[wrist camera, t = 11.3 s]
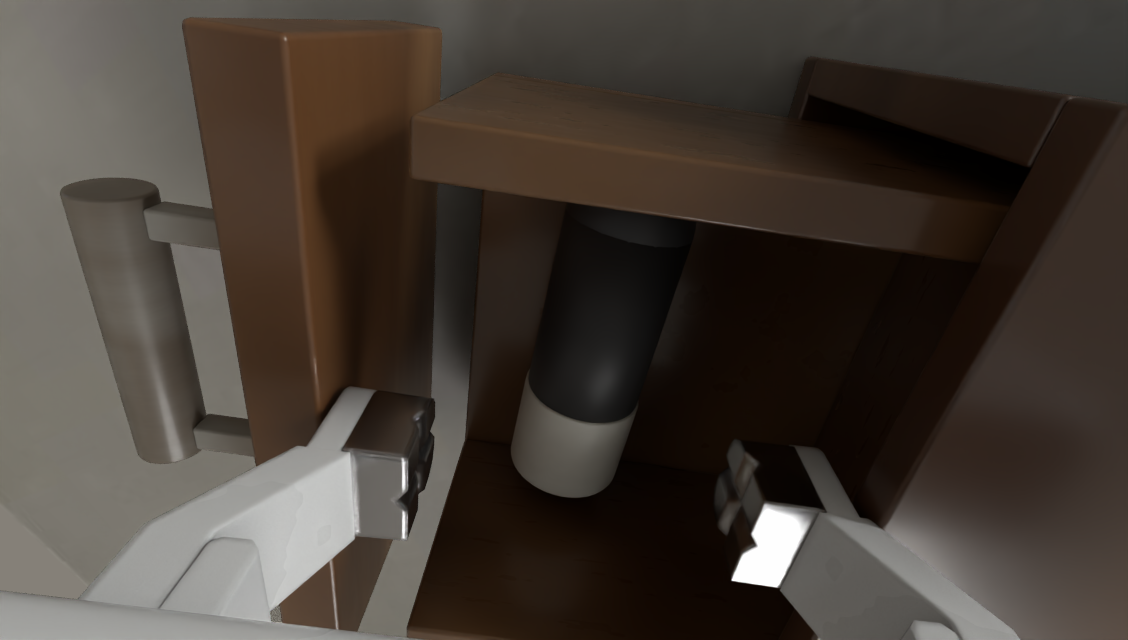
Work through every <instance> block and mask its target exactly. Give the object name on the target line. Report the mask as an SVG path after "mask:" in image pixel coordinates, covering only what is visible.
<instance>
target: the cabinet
mask: <svg viewBox="0 0 1128 640" xmlns="http://www.w3.org/2000/svg"><path fill="white" fill-rule="evenodd" d="M788 118H795V119H801V120H808V121H814V122H820V123H827V124H833V125H840V126H846V127H853V128H859V129H865V130H872V131H878V132H885V133H891V134H898V135H904V136H910V137H917V138H923V139H930V140H936V141H943V142H949V143H954V144H957V145H960V146H963V147H966V148H969V149H972V150H975V151H978V152H981V153H984V154H987V155H990V156H993V157H996V158H999V159H1002V160H1005V161H1008V162H1011V163H1014V164H1017V165H1020V166H1023V167H1026V168H1031V169H1030V171H1029V173H1028V175H1027V177H1026V179H1025V181H1024V182H1023V184H1022V186H1021V188H1020V190H1019V192H1018V194H1017V196H1016V197H1015V199H1014V201H1013V203H1012V205H1011V207H1010V209H1009V210H1008V212H1007V214H1006V216H1005V218H1004V220H1003V222H1002V223H1001V225H1000V227H999V229H998V231H997V233H996V235H995V236H994V238H993V240H992V242H991V244H990V246H989V248H988V250H987V251H986V253H985V255H984V257H983V259H982V261H981V263H980V264H979V266H978V268H977V270H976V272H975V274H974V276H973V277H972V279H971V281H970V283H969V285H968V287H967V289H966V291H965V292H964V294H963V296H962V298H961V300H960V302H959V304H958V305H957V307H956V309H955V311H954V313H953V315H952V317H951V318H950V320H949V322H948V324H947V326H946V328H945V330H944V331H943V333H942V335H941V337H940V339H939V341H938V343H937V345H936V346H935V348H934V350H933V352H932V354H931V356H930V358H929V359H928V361H927V363H926V365H925V367H924V369H923V371H922V372H921V374H920V376H919V378H918V380H917V382H916V384H915V385H914V387H913V389H912V391H911V393H910V395H909V397H908V399H907V400H906V402H905V404H904V406H903V408H902V410H901V412H900V413H899V415H898V417H897V419H896V421H895V423H894V425H893V426H892V428H891V430H890V432H889V434H888V436H887V438H886V439H885V441H884V443H883V445H882V447H881V449H880V451H879V453H878V454H877V456H876V458H875V460H874V462H873V464H872V466H871V467H870V469H869V471H868V473H867V475H866V477H865V479H864V480H863V482H862V484H861V486H860V488H859V490H858V492H857V494H856V495H855V497H854V499H853V501H852V504H853V506H854V508H855V510H856V511H857V513H858V515H859V517H860V518H867V519H870V520H871V521H872V522H874V523H875V524H876V525H877V526H879V527H880V528H881V529H883V530H884V531H885V532H887V533H888V534H889V535H890V536H892V537H893V538H894V539H896V540H897V541H898V542H900V543H901V544H902V545H903V546H905V547H906V548H907V549H909V550H910V551H911V552H913V553H914V554H915V555H916V556H918V557H919V558H920V559H922V560H923V561H924V562H926V563H927V564H928V565H929V566H931V567H932V568H933V569H935V570H936V571H937V572H939V573H940V574H941V575H942V576H944V577H945V578H946V579H948V580H949V581H950V582H952V583H953V584H954V585H955V586H957V587H958V588H959V589H961V590H962V591H963V592H965V593H966V594H967V595H968V596H970V597H971V598H972V599H974V600H975V601H976V602H978V603H979V604H980V605H981V606H983V607H984V608H985V609H987V610H988V611H989V612H991V613H992V614H993V615H994V616H996V617H997V618H998V619H1000V620H1001V621H1002V622H1004V623H1005V624H1006V625H1007V626H1009V627H1010V628H1011V629H1013V630H1014V631H1015V633H1016V634H1017V636H1018V637H1019V639H1020V640H1128V104H1127V103H1121V102H1114V101H1107V100H1100V99H1094V98H1087V97H1080V96H1073V95H1067V94H1060V93H1054V92H1047V91H1040V90H1034V89H1027V88H1020V87H1013V86H1007V85H1000V84H993V83H987V82H980V81H973V80H967V79H960V78H953V77H946V76H940V75H933V74H926V73H920V72H913V71H906V70H900V69H893V68H886V67H879V66H873V65H866V64H859V63H853V62H846V61H839V60H833V59H826V58H819V57H812V56H810V57H808V58H807V59H806V61H805V64H804V67H803V70H802V74H801V77H800V80H799V83H798V86H797V90H796V93H795V96H794V99H793V102H792V105H791V109H790V112H789V115H788ZM778 640H820V638H819V637H818V636H817V635H816V633H815V632H814V631H813V630H812V629H811V627H810V626H809V625H808V624H807V623H806V621H805V620H804V619H803V618H802V617H801V615H800V614H799V613H798V612H797V610H796V609H794V611H793V613H792V615H791V616H790V618H789V620H788V622H787V624H786V626H785V628H784V629H783V631H782V633H781V635H780V637H779V639H778Z"/></svg>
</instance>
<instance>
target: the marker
mask: <svg viewBox="0 0 1128 640" xmlns="http://www.w3.org/2000/svg"><path fill="white" fill-rule="evenodd" d="M695 229H696V222H694V221H688V220H681V219H674V218H668V217H661V216H654V215H648V214H641V213H634V212H628V211H621V210H614V209H608V208H601V207H594V206H588V205H581V204H575V203H568V202H567V205H566V209H565V214H564V218H563V223H562V227H561V232H560V236H559V241H558V245H557V250H556V254H555V259H554V263H553V268H552V272H551V277H550V281H549V286H548V290H547V295H546V299H545V304H544V308H543V313H542V317H541V322H540V326H539V331H538V335H537V340H536V344H535V349H534V353H533V358H532V362H531V367H530V369H529V371H528V373H527V376H526V380H525V385H524V389H523V394H522V398H521V403H520V407H519V412H518V416H517V421H516V425H515V430H514V435H513V439H512V444H511V457H512V460H513V463H514V465H515V467H516V469H517V470H518V472H519V473H520V474H521V475H522V476H523V477H524V478H525V479H526V480H527V481H528V482H529V483H531V484H532V485H534V486H535V487H537V488H539V489H541V490H543V491H545V492H547V493H550V494H553V495H557V496H562V497H570V498H579V497H587V496H591V495H594V494H596V493H598V492H600V491H602V490H603V489H605V488H606V487H607V486H608V485H609V484H610V483H611V481H612V480H613V478H614V475H615V472H616V470H617V467H618V464H619V461H620V458H621V455H622V452H623V449H624V446H625V443H626V441H627V438H628V435H629V432H630V429H631V426H632V423H633V420H634V417H635V414H636V411H637V409H638V399H639V396H640V393H641V391H642V388H643V385H644V382H645V379H646V376H647V373H648V370H649V367H650V364H651V361H652V358H653V355H654V353H655V350H656V347H657V344H658V341H659V338H660V335H661V332H662V329H663V326H664V323H665V320H666V318H667V315H668V312H669V309H670V306H671V303H672V300H673V297H674V294H675V291H676V288H677V285H678V282H679V280H680V277H681V274H682V271H683V268H684V265H685V262H686V259H687V256H688V253H689V250H690V247H691V244H692V242H693V238H694V234H695Z"/></svg>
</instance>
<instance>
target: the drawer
mask: <svg viewBox="0 0 1128 640" xmlns="http://www.w3.org/2000/svg"><path fill="white" fill-rule="evenodd" d="M182 29H183V35H184V40H185V46H186V52H187V58H188V64H189V70H190V76H191V82H192V88H193V94H194V100H195V106H196V112H197V118H198V124H199V130H200V136H201V142H202V148H203V154H204V160H205V165H206V171H207V177H208V183H209V189H210V195H211V201H212V207H213V209H211V208H204V207H198V206H191V205H184V204H177V203H171V202H162V203H161V198H160V194H159V189H158V188H157V186H156V185H155V184H153V183H151V182H147V181H143V180H138V179H131V178H98V179H89V180H83V181H79V182H75V183H72V184H69V185H66V186H64V187H63V188H62V189H61V191H60V196H61V199H62V203H63V206H64V209H65V213H66V216H67V220H68V223H69V226H70V230H71V233H72V236H73V240H74V243H75V246H76V250H77V253H78V256H79V260H80V263H81V266H82V270H83V273H84V276H85V280H86V283H87V286H88V290H89V293H90V296H91V300H92V303H93V306H94V310H95V313H96V316H97V320H98V323H99V326H100V330H101V333H102V336H103V340H104V343H105V346H106V350H107V353H108V356H109V360H110V363H111V366H112V370H113V373H114V377H115V380H116V383H117V387H118V390H119V393H120V397H121V400H122V403H123V407H124V410H125V413H126V417H127V420H128V423H129V427H130V430H131V433H132V437H133V440H134V443H135V447H136V450H137V453H138V455H139V456H140V458H142V459H143V460H145V461H147V462H149V463H154V464H169V463H174V462H178V461H182V460H185V459H187V458H189V457H192V456H193V455H195V454H197V453H198V452H200V451H201V450H209V451H217V452H224V453H231V454H239V455H246V456H253V457H255V463H256V466H258V465H260V464H262V463H264V462H266V461H268V460H270V459H272V458H274V457H276V456H278V455H280V454H282V453H284V452H286V451H288V450H290V449H292V448H294V447H296V446H304V447H306V446H307V444H308V443H309V441H310V440H311V438H312V437H313V435H314V434H315V432H316V431H317V429H318V428H319V426H320V425H321V423H322V421H323V420H324V418H325V417H326V415H327V414H328V412H329V411H330V409H331V408H332V406H333V405H334V403H335V402H336V400H337V399H338V397H339V396H340V394H341V393H342V391H343V390H344V389H346V388H347V387H349V386H353V387H360V388H367V389H373V390H377V391H378V390H382V391H388V392H395V393H401V394H408V395H414V396H421V397H427V398H431V384H432V351H433V318H434V285H435V252H436V219H437V186H438V183H442V184H448V185H455V186H461V187H468V188H475V189H481V190H482V203H481V217H480V232H479V246H478V260H477V275H476V289H475V304H474V318H473V332H472V347H471V361H470V376H469V390H468V404H467V419H466V433H465V442H464V444H463V447H462V450H461V454H460V457H459V460H458V463H457V466H456V470H455V473H454V476H453V479H452V483H451V486H450V489H449V492H448V496H447V499H446V502H445V505H444V508H443V512H442V515H441V518H440V521H439V525H438V528H437V531H436V534H435V538H434V541H433V544H432V547H431V550H430V554H429V557H428V560H427V563H426V567H425V570H424V573H423V576H422V580H421V583H420V586H419V589H418V592H417V596H416V599H415V602H414V605H413V609H412V612H411V615H410V618H409V622H408V625H407V638H416V639H424V640H778V639H779V637H780V635H781V633H782V631H783V629H784V628H785V626H786V624H787V622H788V620H789V618H790V616H791V615H792V613H793V611H794V609H795V608H794V607H793V606H792V604H791V603H790V602H789V601H788V600H787V598H786V597H785V596H784V595H783V593H782V592H781V591H780V589H781V588H777V587H771V586H764V585H757V584H751V583H744V582H737V581H731V577H730V573H729V570H728V566H727V562H726V559H725V555H724V551H723V548H722V547H723V545H724V542H725V540H726V537H727V536H726V535H725V534H724V533H723V532H722V531H721V530H720V529H719V528H718V527H717V524H716V520H715V516H714V508H713V498H714V488H715V485H716V482H717V479H718V475H719V473H721V472H722V471H724V470H725V469H727V468H728V467H729V464H728V461H727V457H726V454H727V451H728V449H729V446H730V444H731V443H732V442H733V440H734V439H741V440H749V441H757V442H765V443H773V444H781V445H788V446H789V445H796V446H806V447H815V448H818V449H820V450H821V451H822V452H823V453H824V454H825V456H826V458H827V460H828V462H829V463H830V465H831V467H832V469H833V470H834V472H835V474H836V476H837V478H838V479H839V481H840V483H841V485H842V486H843V488H844V490H845V492H846V494H847V495H848V497H849V499H850V501H851V503H852V501H853V499H854V497H855V495H856V494H857V492H858V490H859V488H860V486H861V484H862V482H863V480H864V479H865V477H866V475H867V473H868V471H869V469H870V467H871V466H872V464H873V462H874V460H875V458H876V456H877V454H878V453H879V451H880V449H881V447H882V445H883V443H884V441H885V439H886V438H887V436H888V434H889V432H890V430H891V428H892V426H893V425H894V423H895V421H896V419H897V417H898V415H899V413H900V412H901V410H902V408H903V406H904V404H905V402H906V400H907V399H908V397H909V395H910V393H911V391H912V389H913V387H914V385H915V384H916V382H917V380H918V378H919V376H920V374H921V372H922V371H923V369H924V367H925V365H926V363H927V361H928V359H929V358H930V356H931V354H932V352H933V350H934V348H935V346H936V345H937V343H938V341H939V339H940V337H941V335H942V333H943V331H944V330H945V328H946V326H947V324H948V322H949V320H950V318H951V317H952V315H953V313H954V311H955V309H956V307H957V305H958V304H959V302H960V300H961V298H962V296H963V294H964V292H965V291H966V289H967V287H968V285H969V283H970V281H971V279H972V277H973V276H974V274H975V272H976V270H977V268H978V266H979V264H980V263H981V261H982V259H983V257H984V255H985V253H986V251H987V250H988V248H989V246H990V244H991V242H992V240H993V238H994V236H995V235H996V233H997V231H998V229H999V227H1000V225H1001V223H1002V222H1003V220H1004V218H1005V216H1006V214H1007V212H1008V210H1009V209H1010V207H1011V205H1012V203H1013V201H1014V199H1015V197H1016V196H1017V194H1018V192H1019V190H1020V188H1021V186H1022V184H1023V182H1024V181H1025V179H1026V177H1027V175H1028V173H1029V171H1030V169H1031V168H1026V167H1023V166H1020V165H1017V164H1014V163H1011V162H1008V161H1005V160H1002V159H999V158H996V157H993V156H990V155H987V154H984V153H981V152H978V151H975V150H972V149H969V148H966V147H963V146H960V145H957V144H954V143H949V142H943V141H936V140H930V139H923V138H917V137H910V136H904V135H898V134H891V133H885V132H878V131H872V130H865V129H859V128H853V127H846V126H840V125H833V124H827V123H820V122H814V121H808V120H801V119H795V118H788V117H782V116H775V115H769V114H763V113H756V112H750V111H743V110H737V109H730V108H724V107H718V106H711V105H705V104H698V103H692V102H685V101H679V100H673V99H666V98H660V97H653V96H647V95H641V94H634V93H628V92H621V91H615V90H608V89H602V88H596V87H589V86H583V85H576V84H570V83H563V82H557V81H551V80H544V79H538V78H531V77H525V76H518V75H512V74H506V73H499V72H498V73H495V74H493V75H491V76H490V77H488V78H486V79H484V80H482V81H480V82H478V83H476V84H474V85H472V86H470V87H468V88H466V89H464V90H462V91H460V92H458V93H456V94H454V95H452V96H450V97H448V98H446V99H444V100H442V101H440V87H441V54H442V31H441V29H439V28H437V27H430V26H424V25H418V24H411V23H405V22H399V21H384V20H320V19H257V18H194V17H190V18H187V19H184V20H183V23H182ZM567 202H568V203H575V204H581V205H588V206H594V207H601V208H608V209H614V210H621V211H628V212H634V213H641V214H648V215H654V216H661V217H668V218H674V219H681V220H688V221H694V222H696V229H695V234H694V238H693V242H692V244H691V247H690V250H689V253H688V256H687V259H686V262H685V265H684V268H683V271H682V274H681V277H680V280H679V282H678V285H677V288H676V291H675V294H674V297H673V300H672V303H671V306H670V309H669V312H668V315H667V318H666V320H665V323H664V326H663V329H662V332H661V335H660V338H659V341H658V344H657V347H656V350H655V353H654V355H653V358H652V361H651V364H650V367H649V370H648V373H647V376H646V379H645V382H644V385H643V388H642V391H641V393H640V396H639V399H638V409H637V411H636V414H635V417H634V420H633V423H632V426H631V429H630V432H629V435H628V438H627V441H626V443H625V446H624V449H623V452H622V455H621V458H620V461H619V464H618V467H617V470H616V472H615V475H614V478H613V480H612V481H611V483H610V484H609V485H608V486H607V487H606V488H605V489H603V490H602V491H600V492H598V493H596V494H594V495H591V496H587V497H579V498H570V497H562V496H557V495H553V494H550V493H547V492H545V491H543V490H541V489H539V488H537V487H535V486H534V485H532V484H531V483H529V482H528V481H527V480H526V479H525V478H524V477H523V476H522V475H521V474H520V473H519V472H518V470H517V469H516V467H515V465H514V463H513V460H512V457H511V444H512V439H513V435H514V430H515V425H516V421H517V416H518V412H519V407H520V403H521V398H522V394H523V389H524V385H525V380H526V376H527V373H528V371H529V369H530V367H531V362H532V358H533V353H534V349H535V344H536V340H537V335H538V331H539V326H540V322H541V317H542V313H543V308H544V304H545V299H546V295H547V290H548V286H549V281H550V277H551V272H552V268H553V263H554V259H555V254H556V250H557V245H558V241H559V236H560V232H561V227H562V223H563V218H564V214H565V209H566V205H567ZM170 243H174V244H181V245H188V246H195V247H202V248H209V249H215V250H220V255H221V261H222V267H223V273H224V279H225V285H226V291H227V296H228V302H229V308H230V314H231V320H232V326H233V332H234V338H235V344H236V350H237V356H238V362H239V368H240V374H241V380H242V386H243V392H244V398H245V404H246V410H247V416H248V419H243V418H236V417H229V416H222V415H215V414H208V415H206V410H205V406H204V401H203V396H202V392H201V387H200V382H199V377H198V373H197V368H196V363H195V359H194V354H193V349H192V344H191V340H190V335H189V330H188V326H187V321H186V316H185V311H184V307H183V302H182V297H181V293H180V288H179V283H178V278H177V274H176V269H175V264H174V260H173V255H172V250H171V246H170ZM392 541H393V539H382V538H371V537H361V536H355V539H354V540H353V541H352V542H351V543H350V544H348V545H347V546H346V547H345V548H344V549H343V550H341V551H340V552H339V553H338V554H337V555H336V556H334V557H333V558H332V559H331V560H330V561H329V562H327V563H326V564H325V565H324V566H323V567H322V568H320V569H319V570H318V571H317V572H316V573H315V574H314V575H312V576H311V577H310V578H309V579H308V580H307V581H305V582H304V583H303V584H302V585H301V586H300V587H298V588H297V589H296V590H295V591H294V592H293V593H291V594H290V595H289V596H288V597H287V598H286V599H284V600H283V601H282V602H281V603H280V604H279V606H280V612H281V618H282V623H286V624H295V625H303V626H312V627H321V628H329V629H338V630H346V631H355V632H357V631H358V628H359V626H360V623H361V621H362V618H363V615H364V613H365V610H366V608H367V605H368V603H369V600H370V597H371V595H372V592H373V590H374V587H375V585H376V582H377V579H378V577H379V574H380V572H381V569H382V567H383V564H384V561H385V559H386V556H387V554H388V551H389V549H390V546H391V543H392Z"/></svg>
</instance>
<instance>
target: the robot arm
mask: <svg viewBox="0 0 1128 640" xmlns="http://www.w3.org/2000/svg"><path fill="white" fill-rule="evenodd" d="M434 419H435V401H434V399H433V398H427V397H421V396H414V395H408V394H401V393H395V392H388V391H382V390H378V391H377V390H373V389H367V388H360V387H353V386H349V387H347V388H346V389H344V390H343V391H342V393H341V394H340V396H339V397H338V399H337V400H336V402H335V403H334V405H333V406H332V408H331V409H330V411H329V412H328V414H327V415H326V417H325V418H324V420H323V421H322V423H321V425H320V426H319V428H318V429H317V431H316V432H315V434H314V435H313V437H312V438H311V440H310V441H309V443H308V444H307V446H306V447H304V446H296V447H294V448H292V449H290V450H288V451H286V452H284V453H282V454H280V455H278V456H276V457H274V458H272V459H270V460H268V461H266V462H264V463H262V464H260V465H258V466H256V467H254V468H252V469H250V470H248V471H246V472H245V473H243V474H241V475H239V476H237V477H235V478H233V479H231V480H229V481H227V482H225V483H223V484H221V485H219V486H217V487H215V488H213V489H211V490H209V491H207V492H205V493H203V494H201V495H199V496H197V497H195V498H194V499H192V500H190V501H188V502H186V503H184V504H182V505H180V506H178V507H176V508H174V509H172V510H170V511H168V512H166V513H164V514H162V515H160V516H158V517H156V518H154V519H152V520H150V521H148V522H146V523H144V524H143V525H142V526H141V528H140V529H139V530H138V531H137V532H136V533H135V534H134V536H133V537H132V538H131V539H130V540H129V541H128V542H127V544H126V545H125V546H124V547H123V548H122V549H121V550H120V551H119V553H118V554H117V555H116V556H115V557H114V558H113V559H112V561H111V562H110V563H109V564H108V565H107V566H106V567H105V568H104V570H103V571H102V572H101V573H100V574H99V575H98V576H97V578H96V579H95V580H94V581H93V582H92V583H91V584H90V586H89V587H88V588H87V589H86V590H85V591H84V592H83V594H82V595H81V596H80V597H79V598H78V599H70V598H61V597H53V596H44V595H35V594H27V593H17V592H9V591H1V590H0V640H424V639H416V638H407V637H398V636H390V635H381V634H372V633H364V632H355V631H346V630H338V629H329V628H321V627H312V626H303V625H295V624H286V623H277V622H271V616H270V611H272V610H273V609H274V608H275V607H276V606H277V605H279V604H280V603H281V602H282V601H283V600H284V599H286V598H287V597H288V596H289V595H290V594H291V593H293V592H294V591H295V590H296V589H297V588H298V587H300V586H301V585H302V584H303V583H304V582H305V581H307V580H308V579H309V578H310V577H311V576H312V575H314V574H315V573H316V572H317V571H318V570H319V569H320V568H322V567H323V566H324V565H325V564H326V563H327V562H329V561H330V560H331V559H332V558H333V557H334V556H336V555H337V554H338V553H339V552H340V551H341V550H343V549H344V548H345V547H346V546H347V545H348V544H350V543H351V542H352V541H353V540H354V539H355V536H361V537H371V538H382V539H393V540H403V541H407V539H408V536H409V533H410V530H411V527H412V524H413V522H414V519H415V516H416V513H417V510H418V494H419V493H420V492H421V491H423V490H424V489H425V486H426V483H427V480H428V477H429V473H430V468H431V464H432V459H433V450H434V436H433V435H432V433H431V432H430V430H431V427H432V424H433V421H434ZM726 457H727V461H728V464H729V467H728V468H727V469H725V470H724V471H722V472H721V473H719V475H718V479H717V482H716V485H715V488H714V498H713V508H714V516H715V520H716V524H717V527H718V528H719V529H720V530H721V531H722V532H723V533H724V534H725V535H726V536H727V537H726V540H725V542H724V545H723V547H722V548H723V551H724V555H725V559H726V562H727V566H728V570H729V573H730V577H731V581H737V582H744V583H751V584H757V585H764V586H771V587H777V588H781V589H780V591H781V592H782V593H783V595H784V596H785V597H786V598H787V600H788V601H789V602H790V603H791V604H792V606H793V607H794V608H795V609H796V610H797V612H798V613H799V614H800V615H801V617H802V618H803V619H804V620H805V621H806V623H807V624H808V625H809V626H810V627H811V629H812V630H813V631H814V632H815V633H816V635H817V636H818V637H819V638H820V640H1020V639H1019V637H1018V636H1017V634H1016V633H1015V631H1014V630H1013V629H1011V628H1010V627H1009V626H1007V625H1006V624H1005V623H1004V622H1002V621H1001V620H1000V619H998V618H997V617H996V616H994V615H993V614H992V613H991V612H989V611H988V610H987V609H985V608H984V607H983V606H981V605H980V604H979V603H978V602H976V601H975V600H974V599H972V598H971V597H970V596H968V595H967V594H966V593H965V592H963V591H962V590H961V589H959V588H958V587H957V586H955V585H954V584H953V583H952V582H950V581H949V580H948V579H946V578H945V577H944V576H942V575H941V574H940V573H939V572H937V571H936V570H935V569H933V568H932V567H931V566H929V565H928V564H927V563H926V562H924V561H923V560H922V559H920V558H919V557H918V556H916V555H915V554H914V553H913V552H911V551H910V550H909V549H907V548H906V547H905V546H903V545H902V544H901V543H900V542H898V541H897V540H896V539H894V538H893V537H892V536H890V535H889V534H888V533H887V532H885V531H884V530H883V529H881V528H880V527H879V526H877V525H876V524H875V523H874V522H872V521H871V520H870V519H867V518H860V517H859V515H858V513H857V511H856V510H855V508H854V506H853V504H852V503H851V501H850V499H849V497H848V495H847V494H846V492H845V490H844V488H843V486H842V485H841V483H840V481H839V479H838V478H837V476H836V474H835V472H834V470H833V469H832V467H831V465H830V463H829V462H828V460H827V458H826V456H825V454H824V453H823V452H822V451H821V450H820V449H818V448H815V447H806V446H796V445H789V446H788V445H781V444H773V443H765V442H757V441H749V440H741V439H734V440H733V442H732V443H731V444H730V446H729V449H728V451H727V454H726Z"/></svg>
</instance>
